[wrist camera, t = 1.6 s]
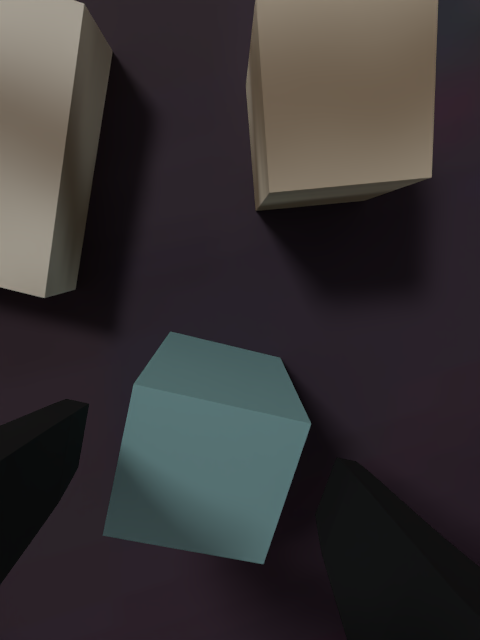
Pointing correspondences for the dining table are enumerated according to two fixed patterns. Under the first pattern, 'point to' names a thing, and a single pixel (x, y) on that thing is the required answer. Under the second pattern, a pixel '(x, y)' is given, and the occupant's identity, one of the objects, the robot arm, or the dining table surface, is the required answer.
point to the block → (340, 99)
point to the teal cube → (207, 450)
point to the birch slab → (47, 139)
